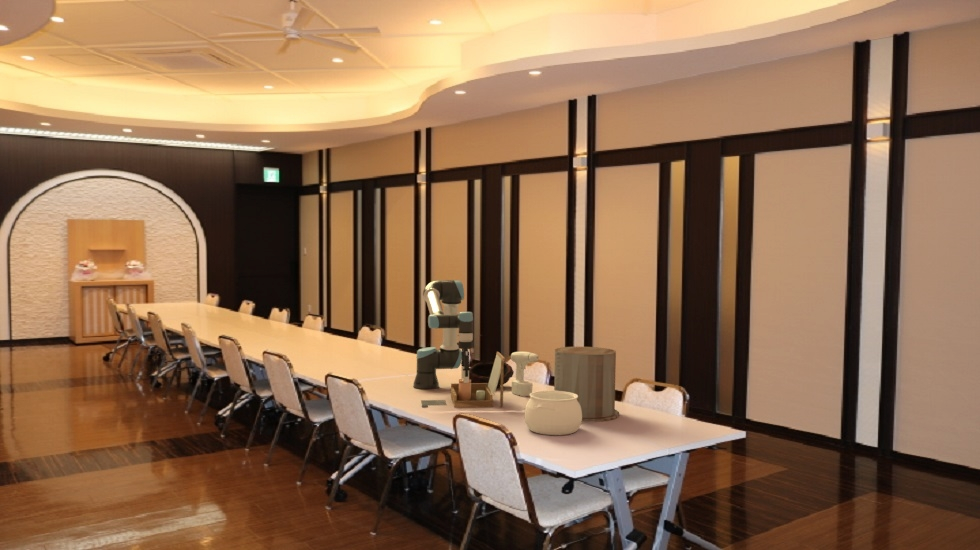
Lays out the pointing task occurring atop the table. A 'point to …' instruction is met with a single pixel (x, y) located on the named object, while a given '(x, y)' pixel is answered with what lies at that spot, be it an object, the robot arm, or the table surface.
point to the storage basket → (588, 380)
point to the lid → (495, 373)
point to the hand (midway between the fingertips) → (465, 380)
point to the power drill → (522, 372)
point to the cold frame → (474, 388)
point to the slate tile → (432, 402)
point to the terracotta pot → (464, 390)
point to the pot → (553, 412)
